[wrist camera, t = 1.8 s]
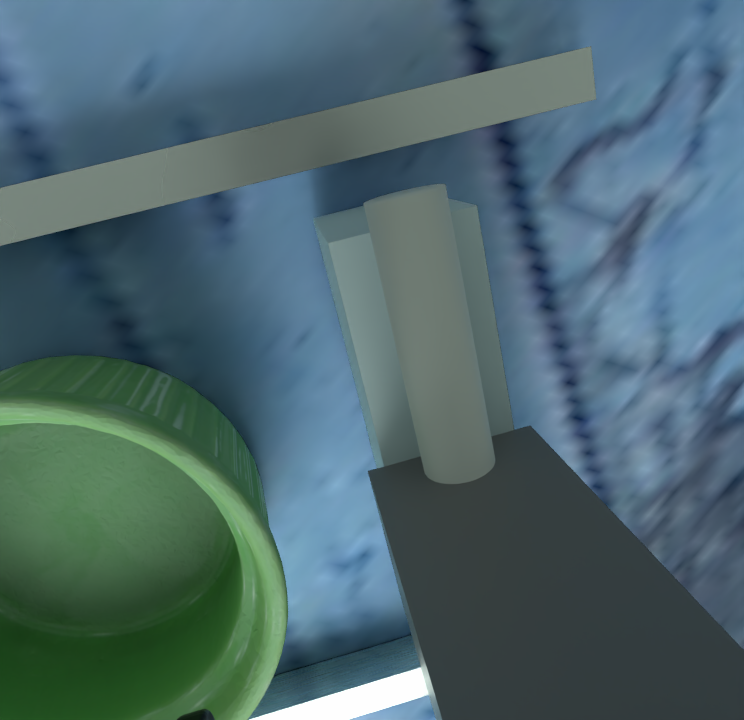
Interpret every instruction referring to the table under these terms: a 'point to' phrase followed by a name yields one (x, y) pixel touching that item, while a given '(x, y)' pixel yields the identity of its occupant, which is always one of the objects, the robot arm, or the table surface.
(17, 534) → the ramekin
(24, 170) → the table surface
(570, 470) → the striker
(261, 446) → the table surface
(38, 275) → the table surface
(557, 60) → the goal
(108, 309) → the table surface
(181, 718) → the robot arm
